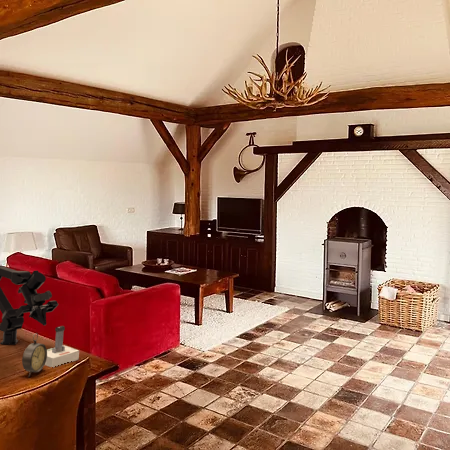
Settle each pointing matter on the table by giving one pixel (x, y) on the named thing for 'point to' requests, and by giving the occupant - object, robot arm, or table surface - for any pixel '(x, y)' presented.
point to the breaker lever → (59, 337)
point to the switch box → (61, 356)
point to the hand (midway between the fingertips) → (45, 324)
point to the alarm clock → (34, 357)
